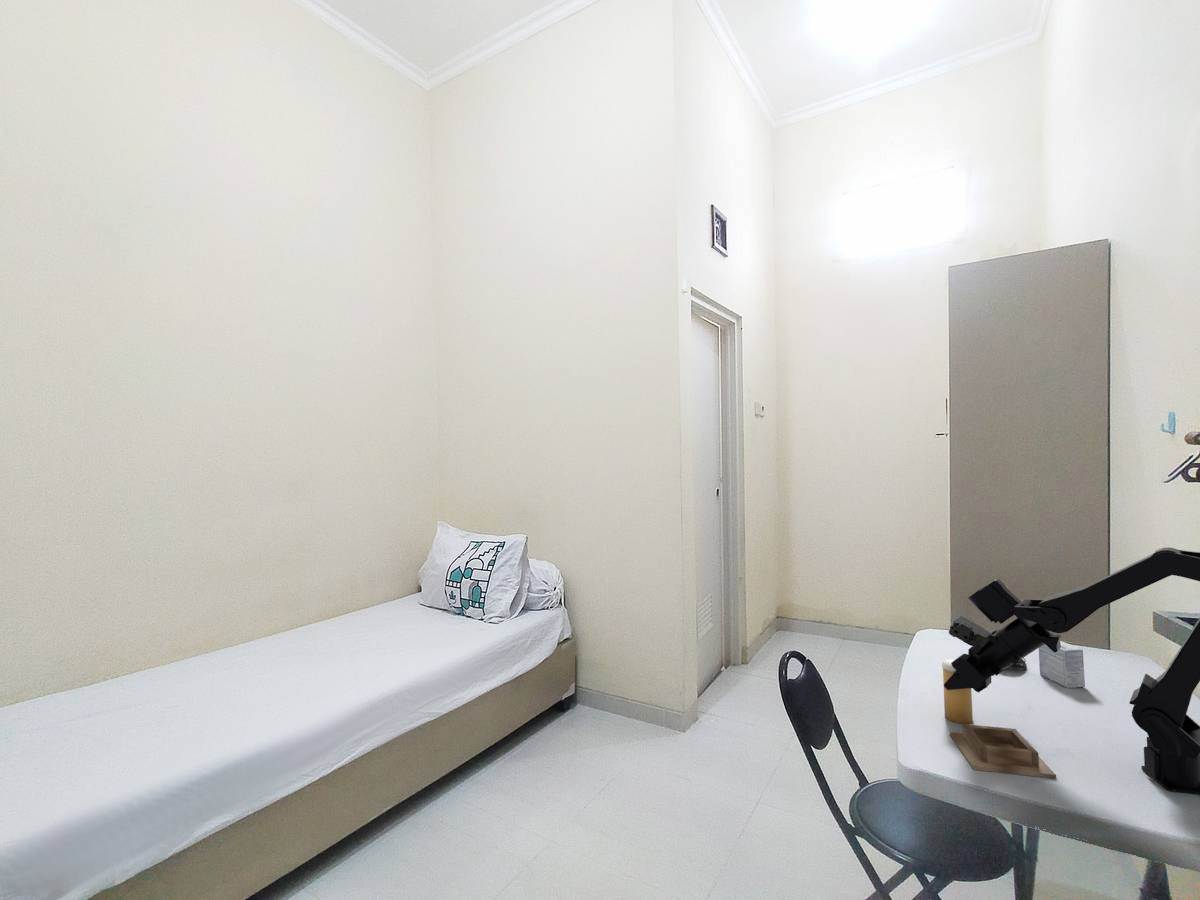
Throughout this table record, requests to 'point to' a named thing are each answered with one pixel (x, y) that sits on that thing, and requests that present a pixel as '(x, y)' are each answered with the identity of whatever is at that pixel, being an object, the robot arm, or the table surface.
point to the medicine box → (1063, 665)
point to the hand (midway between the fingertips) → (949, 683)
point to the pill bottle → (956, 698)
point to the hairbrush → (1020, 665)
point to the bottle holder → (1000, 751)
